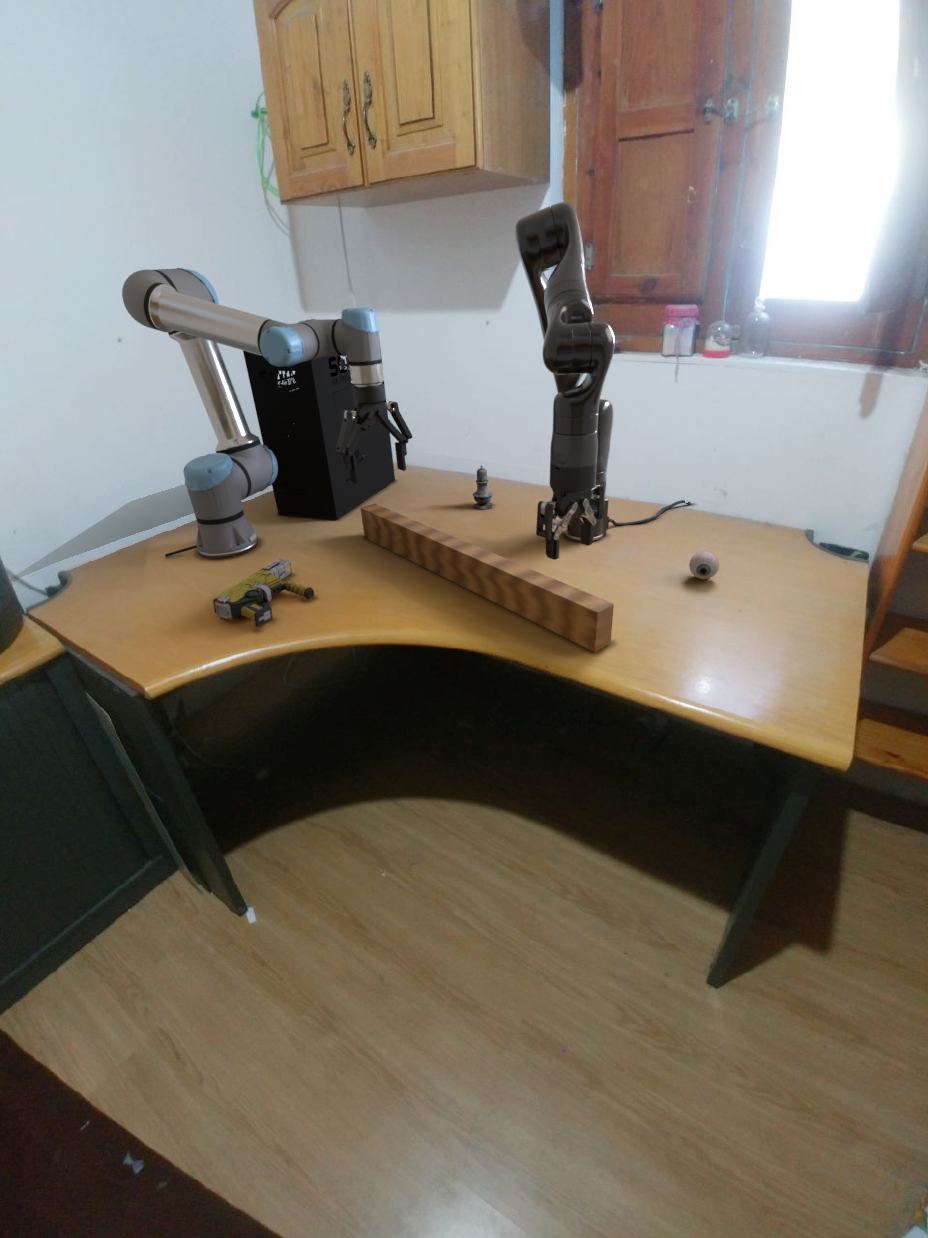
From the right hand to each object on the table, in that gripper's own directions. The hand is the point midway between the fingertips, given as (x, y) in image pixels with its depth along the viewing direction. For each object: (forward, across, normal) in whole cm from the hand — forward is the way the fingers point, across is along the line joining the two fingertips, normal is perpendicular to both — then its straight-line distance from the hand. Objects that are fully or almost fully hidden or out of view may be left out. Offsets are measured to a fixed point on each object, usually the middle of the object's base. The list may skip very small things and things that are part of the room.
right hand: (569, 551), depth 106 cm
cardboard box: (+16, -9, -105) cm, 107 cm away
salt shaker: (+16, -34, -65) cm, 75 cm away
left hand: (-1, +1, -62) cm, 62 cm away
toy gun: (+17, +35, -52) cm, 65 cm away
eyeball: (+16, -37, +5) cm, 41 cm away
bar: (+16, 0, -31) cm, 35 cm away
